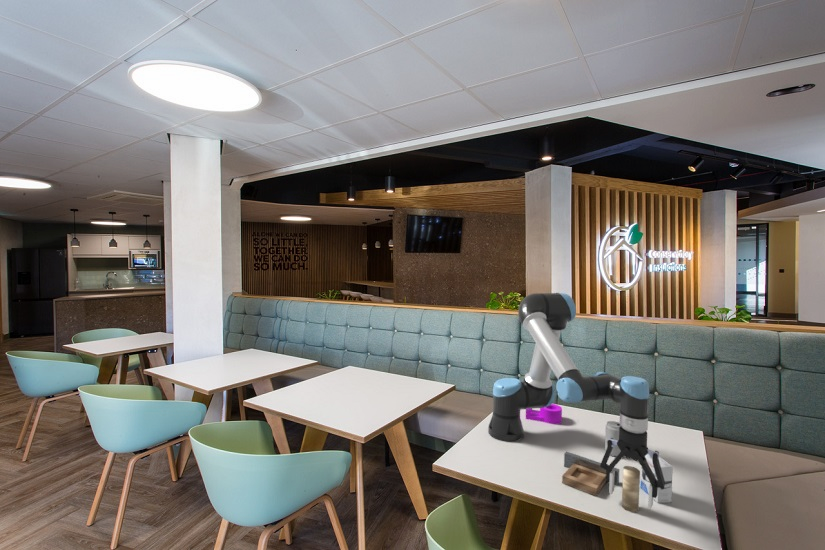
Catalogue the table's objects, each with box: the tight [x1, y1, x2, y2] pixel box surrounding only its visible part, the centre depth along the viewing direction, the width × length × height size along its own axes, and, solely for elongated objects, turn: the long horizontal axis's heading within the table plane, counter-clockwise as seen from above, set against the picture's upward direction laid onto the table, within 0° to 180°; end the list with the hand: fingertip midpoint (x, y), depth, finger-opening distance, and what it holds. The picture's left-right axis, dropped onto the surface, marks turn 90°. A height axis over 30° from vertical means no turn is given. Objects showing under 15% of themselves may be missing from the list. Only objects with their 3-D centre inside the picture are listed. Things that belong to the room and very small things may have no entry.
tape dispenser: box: [525, 403, 563, 425], centre depth 187 cm, size 16×10×6 cm, turn 68°
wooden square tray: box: [561, 463, 607, 497], centre depth 134 cm, size 11×11×2 cm
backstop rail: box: [563, 451, 620, 487], centre depth 139 cm, size 18×2×5 cm, turn 49°
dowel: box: [621, 465, 641, 513], centre depth 121 cm, size 4×4×12 cm
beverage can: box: [604, 420, 621, 458], centre depth 154 cm, size 6×6×12 cm
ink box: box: [640, 454, 674, 504], centre depth 127 cm, size 8×5×12 cm, turn 5°
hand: (630, 498), depth 121 cm, fingers open, 10 cm apart
